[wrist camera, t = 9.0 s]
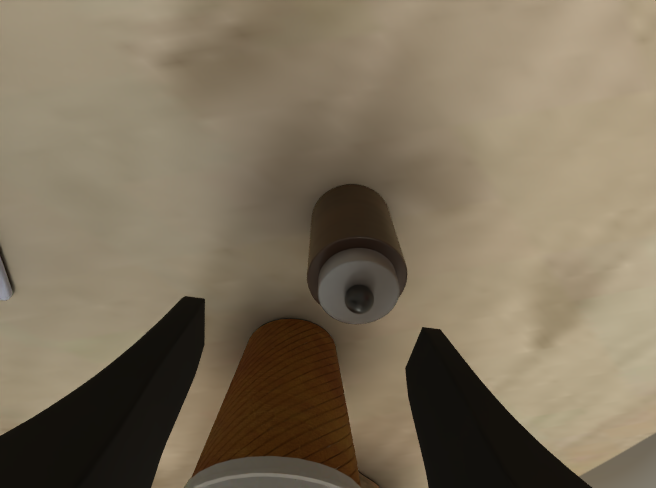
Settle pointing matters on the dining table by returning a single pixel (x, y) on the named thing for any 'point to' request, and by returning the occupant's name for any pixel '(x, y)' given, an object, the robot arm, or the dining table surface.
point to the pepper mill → (354, 256)
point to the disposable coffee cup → (282, 416)
